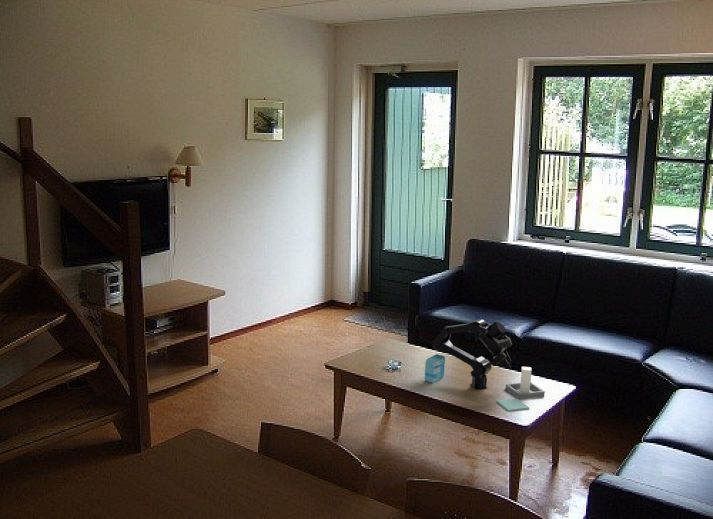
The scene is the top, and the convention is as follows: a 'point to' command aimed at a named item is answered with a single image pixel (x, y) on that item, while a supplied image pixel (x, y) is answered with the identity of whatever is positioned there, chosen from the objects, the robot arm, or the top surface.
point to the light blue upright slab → (434, 368)
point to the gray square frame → (537, 392)
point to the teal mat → (512, 404)
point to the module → (525, 379)
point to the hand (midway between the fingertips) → (511, 366)
